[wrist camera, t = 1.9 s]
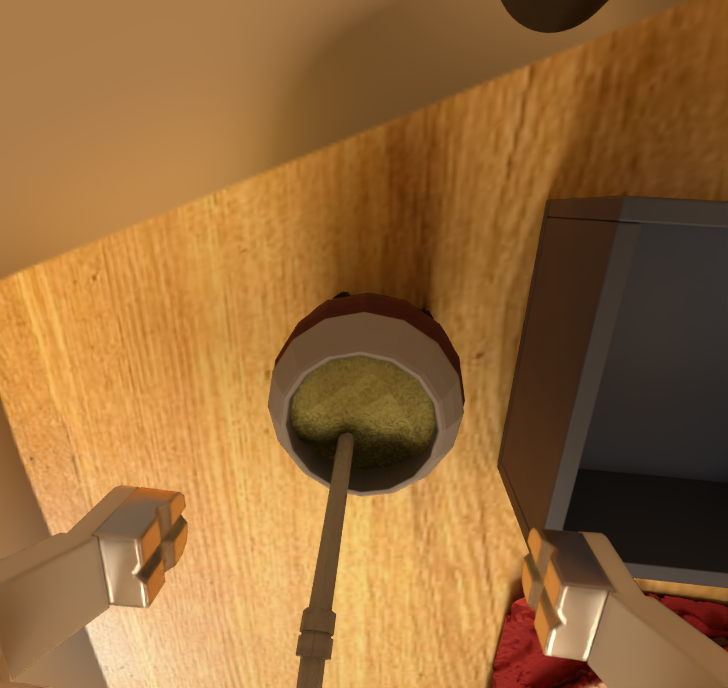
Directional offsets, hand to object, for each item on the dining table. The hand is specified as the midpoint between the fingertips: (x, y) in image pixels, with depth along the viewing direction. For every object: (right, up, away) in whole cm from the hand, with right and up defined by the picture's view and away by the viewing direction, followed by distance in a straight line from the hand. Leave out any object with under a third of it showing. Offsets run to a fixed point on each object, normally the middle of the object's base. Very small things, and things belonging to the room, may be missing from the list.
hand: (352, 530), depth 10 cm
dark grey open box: (+14, +4, +10) cm, 17 cm away
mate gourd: (+1, +4, +11) cm, 12 cm away
